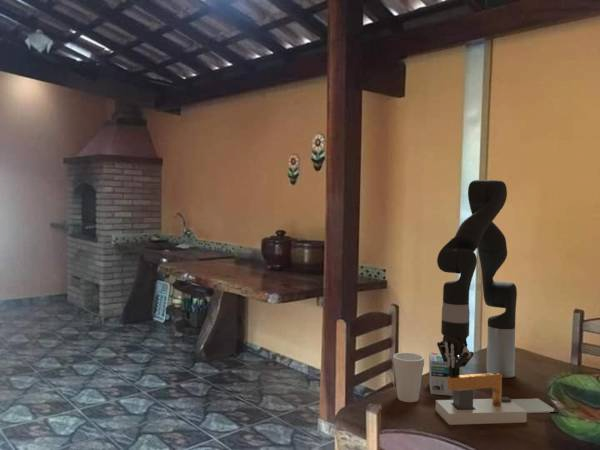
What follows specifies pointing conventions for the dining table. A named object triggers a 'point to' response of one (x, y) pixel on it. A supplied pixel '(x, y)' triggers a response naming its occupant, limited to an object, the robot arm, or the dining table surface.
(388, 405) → the dining table surface
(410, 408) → the dining table surface
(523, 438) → the dining table surface
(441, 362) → the light bulb box
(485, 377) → the orange lever handle
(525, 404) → the mat
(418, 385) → the foam cup
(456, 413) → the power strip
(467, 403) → the plug
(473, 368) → the dining table surface
